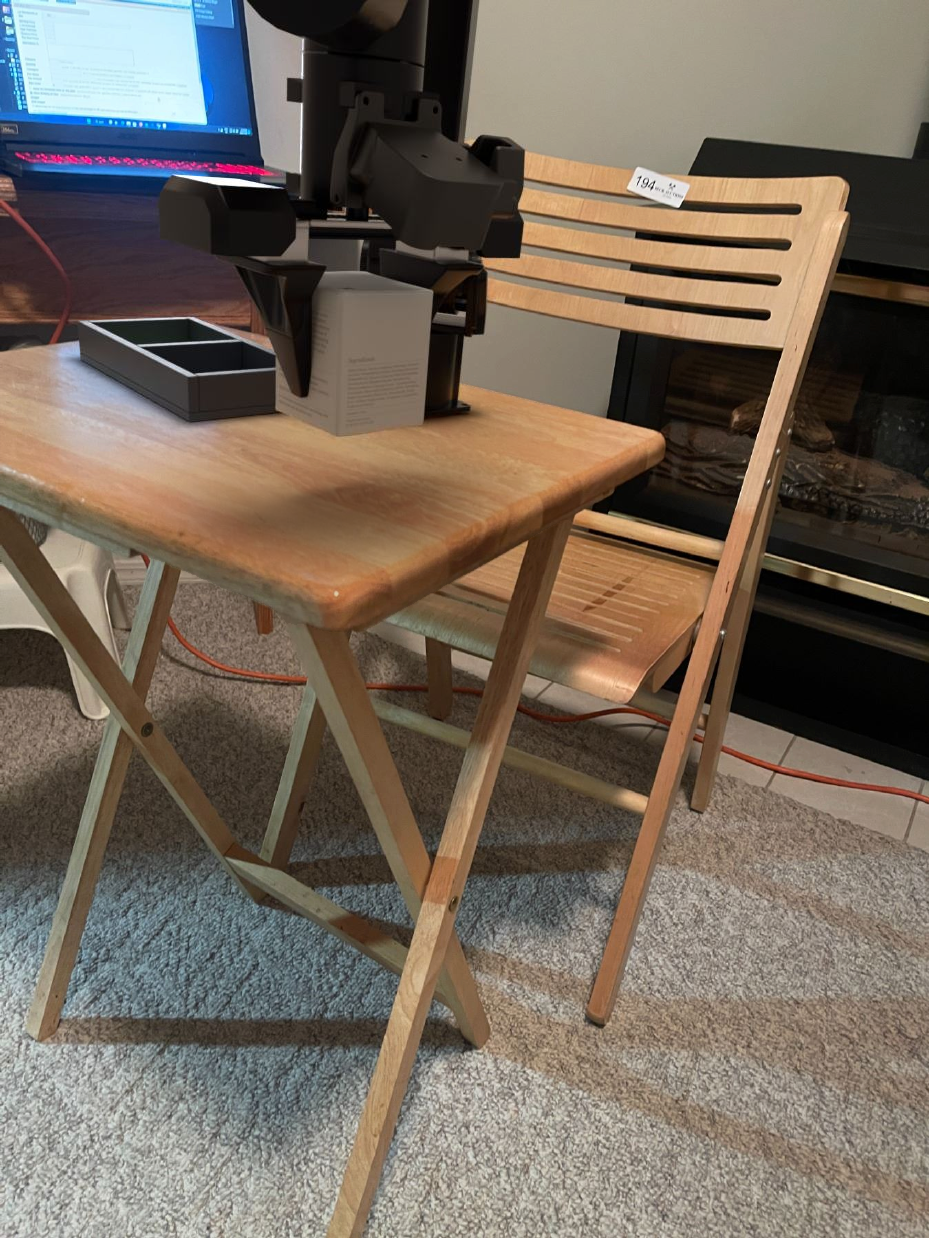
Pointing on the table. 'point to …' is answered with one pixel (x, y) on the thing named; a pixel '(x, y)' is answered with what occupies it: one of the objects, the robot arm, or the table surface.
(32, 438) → the table surface
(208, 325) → the divided tray
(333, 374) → the product box
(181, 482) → the table surface
